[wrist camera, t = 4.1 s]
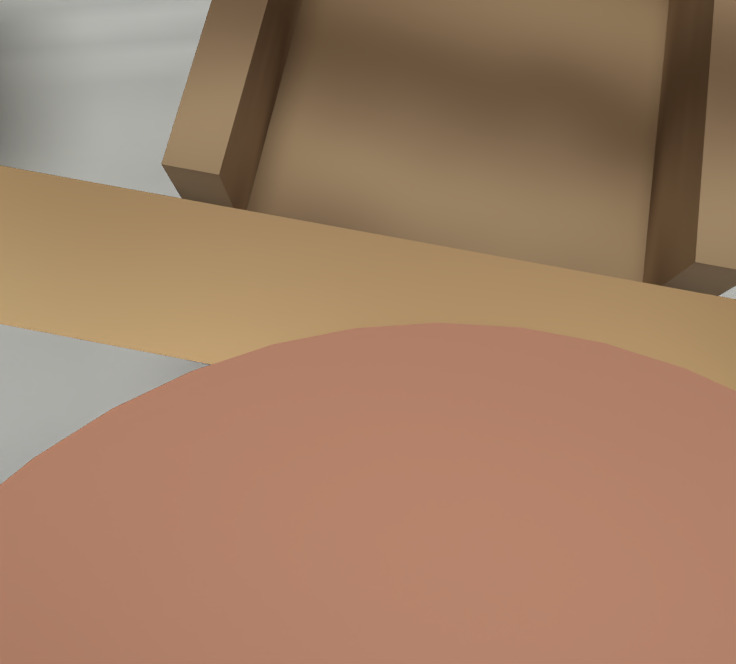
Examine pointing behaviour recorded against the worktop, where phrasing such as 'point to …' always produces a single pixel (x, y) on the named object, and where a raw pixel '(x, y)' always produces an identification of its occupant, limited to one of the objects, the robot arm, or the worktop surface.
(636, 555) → the post
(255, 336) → the brown wooden flat block
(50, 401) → the worktop surface
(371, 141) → the open wooden box
